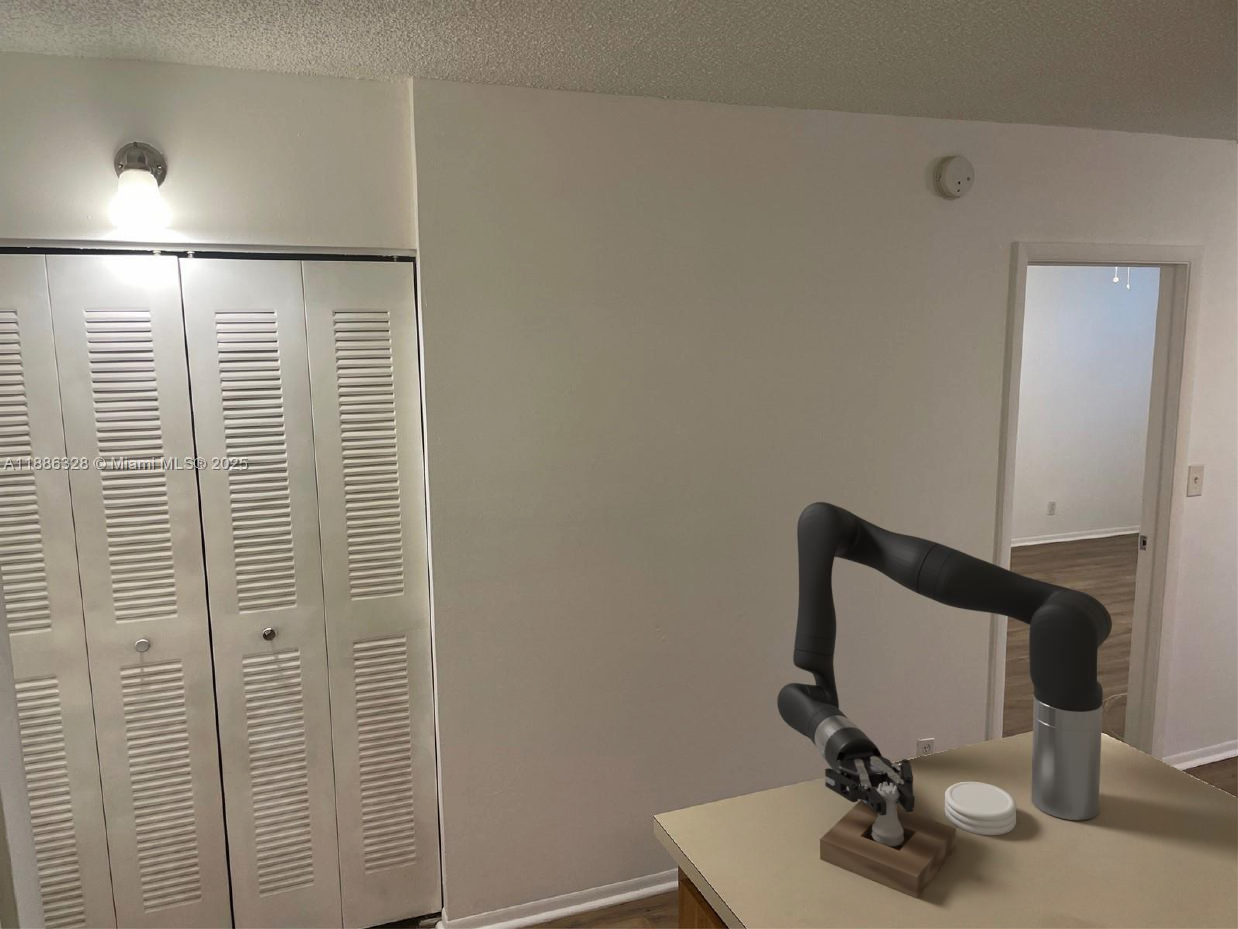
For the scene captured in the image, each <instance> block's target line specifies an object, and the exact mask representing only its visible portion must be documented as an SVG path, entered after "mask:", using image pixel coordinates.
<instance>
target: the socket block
mask: <svg viewBox="0 0 1238 929" xmlns="http://www.w3.org/2000/svg"><path fill="white" fill-rule="evenodd" d="M897 816H898V821H899V822H900V825H901V826H902V828H903V831H904V832H903V836H904V841H903V842H902V843H901V844H900V845H899V846H902V848H900V850H898V849H896V848H894V847H888V846H885V845H883V844H880V843H877V842H876V841H875V840H874V839H873V837H872V835H871V834H872V831H873V830H872V826H873V823H874V822H875V820H876V819H877V817H878V812H875V811H873V810H872V808H871V807H870V806H869V805H868V803H865V802H863V800H861V799H859V801H857V802H856V804H855V805H854V806H853V807H851V809H850V810H849V811H848V812H847V813H846V814H845V815H844V816H842V818H840V819H839V820H838V821H837V822H836V823H835V824H834V825H833V826H832V827H831V828H830V829H828V831H827V832H826V833H825V834H823V836H821V837H820V838H819V859H820V860H822V861H824V862H828V863H829V862H830V864H832V865H834V866H837V867H839V866H840V868H841V869H844V870H847V871H849V872H852V873H854V874H857V875H859V876H862V877H864V878H867V879H869V880H871V881H874V882H877V883H879V884H881V885H884V886H886V887H888V888H891V889H893V890H896V891H898V892H900V893H904V894H906V895H908V896H910V897H913V898H916V899H918V898H919V896H920V895H921V894H922V892H923V891H924V890H925V888H926V887H927V886H928V884H929V883H930V882H931V881H932V880H933V878H934V877H935V876H936V874H937V873H938V872H939V870H940V869H941V868H942V866H943V865H944V864H945V863H946V862H947V860H948V859H949V858H950V856H951V855H952V853H953V852H954V851H955V850H956V848H957V828H956V827H953V826H950V825H948V824H947V825H946V824H944V823H942V822H938V821H936V820H933V819H929V818H926V817H924V816H920V815H919V814H915V813H912V812H907V811H906V810H905V809H904V810H903V809H901V808H898V807H897Z"/></svg>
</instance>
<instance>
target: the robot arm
mask: <svg viewBox="0 0 1238 929" xmlns="http://www.w3.org/2000/svg"><path fill="white" fill-rule="evenodd" d="M796 529H797V531H796V532H797V533H796V537H797V559H798V606H797V607H798V608H797V619H796V628H795V629H796V630H795V636H794V638H795V639H794V646H793V656H792V658H793V659H792V660H793V664H794V666H795V667H796V668H797V669H800V670H803V671H806V672H809V673H810V674H812V675H813V678H814V681H815V684H807V683H806V684H805V683H800V682H789V683H787V684H786V685H784V686H782V688H781V689H780V690H779V692H778V695H777V697H776V698H777V699H776V701H777V704H776V705H777V710H778V712H779V713H778V714H779V716H780V717H781V719H782V720H783V722H784V723H786V725H788V726H789V727H790V728H791V729H793V730H795V731H797V732H798V733H800V734H801V735H803V736H805V737H807V738H808V739H810V740H811V742H812V744H814V745H815V747H816V748H817V749H818V751H819V754H820V755H821V756H822V758H823V759H824V760H825V762H826V763H827V765H828V766H829V767H830V768H825V771H824V773H825V774H824V776H825V777H824V778H825V779H824V780H825V781H824V785H825V787H826V788H827V789H830V791H833V792H834V793H836V794H838V795H839V796H841V797H843V798H844V799H846V800H847V801H849V802H851V803H858V802H859V801H858V800H863V802H865V803H868V805H869V806H870V807H871V808H872V810H873V811H875V812H878V813H879V814H880V815H881V816H882V815H886V801H885V799H884V798H883V797H882V796H881V795H880V794H879V793H878V791H877V789H878V788H879V784H880V783H881V784H882V786H883V782H887V785H889V786H890V783H893V784H894V786H897V790H898V792H899V793H900V796H899V797H898V799H897V800H896V801H897V802H898V804H900V806H902V808H903V809H904V811H906V812H909V813H912V812H914V809H915V808H916V807H915V804H916V803H915V802H916V801H915V795H914V775H913V769H912V765H911V761H910V760H909V759H906V758H905V759H904V758H903V759H902V760H901V762H900V763H893V762H892V761H891V760H890V759H889V758H886V757H884V756H883V755H882V753H881V751H880V750H879V747H878V746H877V745H876V744H875V743H874V741H873V740H872V739H870V738H869V736H868V735H867V734H866V733H865V732H864V731H863V729H861V728H860V727H859V726H858V725H857V724H856V723H854V722H853V721H852V720H850V719H849V718H848V717H847V715H845V714H844V712H843V711H842V710H840V704H839V702H840V701H839V695H838V690H837V685H836V683H837V682H836V676H835V668H834V667H835V666H834V658H835V656H834V655H835V648H836V639H837V615H836V609H835V602H834V594H833V584H832V583H833V582H832V581H833V579H832V578H833V577H832V576H833V568H834V561H835V558H837V559H843V560H847V561H850V562H854V563H857V564H861V565H864V566H866V567H869V568H872V569H874V570H876V571H878V572H879V573H881V574H883V575H885V576H886V577H888V578H889V579H891V580H893V581H894V583H897V584H899V585H901V586H902V587H904V588H905V589H908V590H910V591H912V592H914V593H915V594H918V595H920V596H923V597H925V598H928V599H930V600H932V601H935V602H937V603H940V604H942V605H946V606H949V607H952V608H957V609H961V610H962V609H963V610H967V611H974V612H975V611H976V612H980V613H981V612H983V613H991V614H994V615H995V614H996V615H1002V616H1004V617H1005V616H1006V617H1008V618H1011V619H1015V620H1018V621H1019V622H1022V623H1025V624H1027V625H1028V626H1029V634H1028V635H1029V638H1028V639H1029V640H1028V641H1029V642H1028V646H1029V647H1028V649H1029V650H1028V651H1029V652H1028V653H1029V654H1028V655H1029V676H1030V679H1031V682H1032V685H1033V707H1032V708H1033V709H1032V710H1033V717H1032V719H1033V720H1032V750H1031V751H1032V752H1031V753H1032V756H1031V759H1032V760H1031V786H1030V787H1031V788H1030V789H1031V793H1030V799H1031V802H1032V804H1033V805H1034V806H1035V807H1036V808H1037V809H1039V810H1040V811H1042V812H1043V813H1045V814H1048V815H1050V816H1053V817H1055V818H1059V819H1063V820H1071V821H1085V820H1089V819H1092V818H1093V819H1094V818H1095V817H1096V816H1097V815H1098V814H1099V804H1100V800H1099V799H1100V783H1101V780H1100V779H1101V778H1100V777H1101V755H1102V754H1101V752H1102V751H1101V749H1102V730H1103V728H1102V725H1103V723H1102V721H1103V697H1104V696H1103V695H1104V694H1103V692H1104V691H1103V687H1102V685H1101V683H1100V682H1099V681H1098V649H1099V648H1100V647H1101V646H1102V645H1103V644H1104V643H1105V642H1106V641H1107V638H1109V636H1110V635H1111V632H1112V628H1113V620H1112V617H1111V615H1110V612H1109V611H1108V609H1107V608H1106V606H1104V605H1103V603H1102V602H1101V601H1100V600H1098V599H1097V598H1095V597H1094V596H1092V595H1091V594H1088V593H1086V592H1083V591H1080V590H1076V589H1073V588H1069V587H1065V586H1061V585H1058V584H1053V583H1050V582H1046V581H1041V580H1040V579H1039V580H1038V579H1035V578H1031V577H1028V576H1024V575H1021V574H1019V573H1017V572H1014V571H1011V570H1008V569H1007V568H1004V567H1001V566H1000V565H996V564H994V563H991V562H988V561H986V560H983V559H981V558H979V557H978V558H977V557H976V556H973V555H970V554H967V553H966V552H963V551H961V550H959V549H958V550H957V549H955V548H952V547H950V546H948V545H945V544H942V543H938V542H935V541H932V540H930V539H926V538H923V537H922V538H921V537H919V536H918V537H917V536H914V535H910V534H904V533H898V532H894V531H890V530H888V529H885V528H883V527H880V526H879V525H876V524H875V523H871V522H870V521H868V520H866V519H864V518H863V517H860V516H858V515H856V514H854V513H853V512H851V511H849V510H847V509H846V508H844V507H840V506H837V505H835V504H834V503H829V502H825V501H817V502H813V503H811V504H809V505H807V506H806V507H805V508H804V509H803V510H802V511H801V513H800V515H799V518H798V521H797V528H796Z"/></svg>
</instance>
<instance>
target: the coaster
mask: <svg viewBox="0 0 1238 929" xmlns="http://www.w3.org/2000/svg"><path fill="white" fill-rule="evenodd" d="M944 798H945V799H944V813H945V815H946V818H947V820H949V822H951V823H952V824H953V825H954V826H956V827H958V828H960V829H962V830H963V831H966V832H968V833H969V832H970V833H973V834H977V835H983V836H998V835H999V836H1000V835H1005V834H1007V833H1009V832H1011V831H1013V829H1014V828H1015V827H1016V824H1017V819H1016V818H1017V803H1016V800H1015V798H1013V797H1012V795H1010V794H1009V793H1008V792H1007V791H1005V790H1004V789H1002V788H1001V787H999V786H995V785H992V784H989V783H986V782H979V781H962V782H957V783H954V784H952V785H950V786H949V787H947V789H945V793H944Z"/></svg>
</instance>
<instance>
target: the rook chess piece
mask: <svg viewBox="0 0 1238 929" xmlns="http://www.w3.org/2000/svg"><path fill="white" fill-rule="evenodd" d="M876 790H877V791H878V793H879V794H880V795H881V796H882V797H883V798H884V799H885V801H886V815H882V816H881V815H880V814H879V813H878V817H877V819H876V820H875V822H874V823H873V826H872V830H873V831H872V834H871V835H872V837H873V839H874V841H875V842H877V843H880V844H883V845H885V846H888V847H891V848H895V847H898V846H901V845H900V844H901V843H902V842H903V841H904V836H903V832H904V831H903V828H902V826H901V825H900V822H899V821H898V816H897V808H898V805H899V802H898V801H897V799H898V797H899V796H900V793H899V792H898V790H897V786H894V784H893V783H890V786H889V785H887V782H883V786H882V784H881V783H880V784H879V788H878V787H877V788H876Z"/></svg>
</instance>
